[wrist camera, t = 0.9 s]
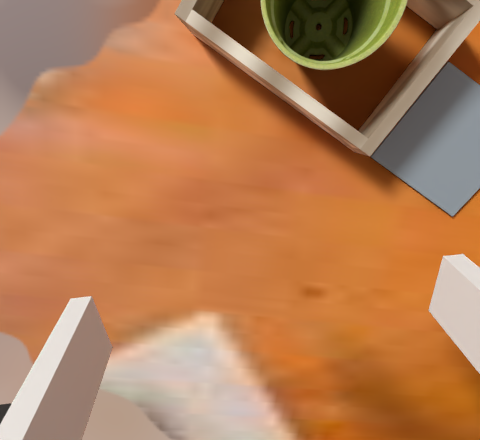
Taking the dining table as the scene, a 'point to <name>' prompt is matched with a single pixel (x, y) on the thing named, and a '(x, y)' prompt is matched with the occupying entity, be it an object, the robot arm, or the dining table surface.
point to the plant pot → (330, 29)
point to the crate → (362, 141)
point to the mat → (438, 141)
